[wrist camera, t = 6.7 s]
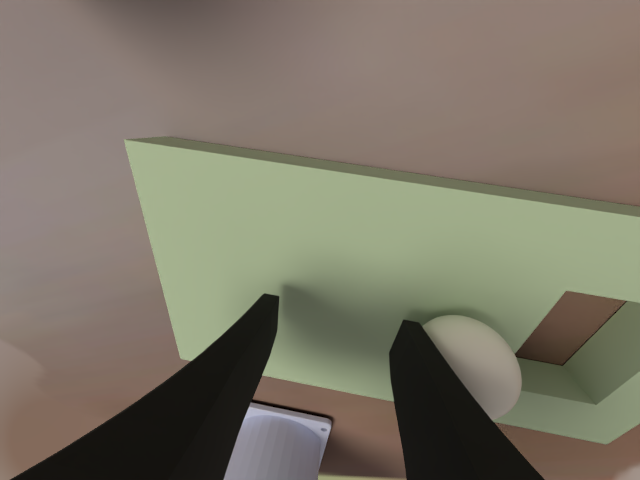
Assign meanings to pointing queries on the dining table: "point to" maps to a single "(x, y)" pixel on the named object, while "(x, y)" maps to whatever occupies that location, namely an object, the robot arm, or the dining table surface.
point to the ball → (478, 361)
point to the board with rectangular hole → (391, 270)
